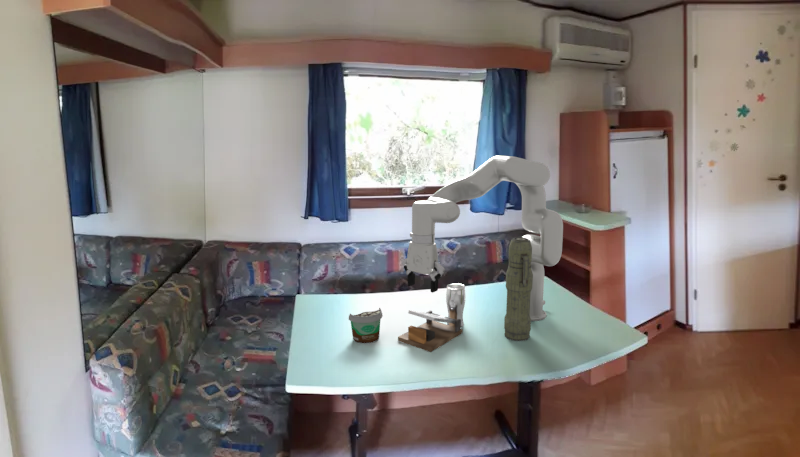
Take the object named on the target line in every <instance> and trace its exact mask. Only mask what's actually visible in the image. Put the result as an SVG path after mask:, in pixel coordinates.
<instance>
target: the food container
mask: <svg viewBox="0 0 800 457" xmlns="http://www.w3.org/2000/svg"><path fill="white" fill-rule="evenodd" d="M383 317H384V315H383V312H382V309H381V307H379V309H377V310H373V311H364V312H360V313H358V314H351V313H349V314H348V321H350V326H351V333H352V340H353V342H355V343H359V344H372V343H375V342H377V341H379V339H380V330H381V319H382V318H383Z"/></svg>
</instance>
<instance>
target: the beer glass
mask: <svg viewBox="0 0 800 457" xmlns="http://www.w3.org/2000/svg"><path fill="white" fill-rule="evenodd" d="M445 296H446V297H445V298H446V300H445V302H446V307H447V313H448V318H452V319H455V320H458V319H461V328H463V327H464V326H465V324H464V309H465V304H466V285H465V284H462V283H450V284H447V285H446V293H445ZM446 325H450V326H453V327H455V324H452V323H447V322H446Z"/></svg>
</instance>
